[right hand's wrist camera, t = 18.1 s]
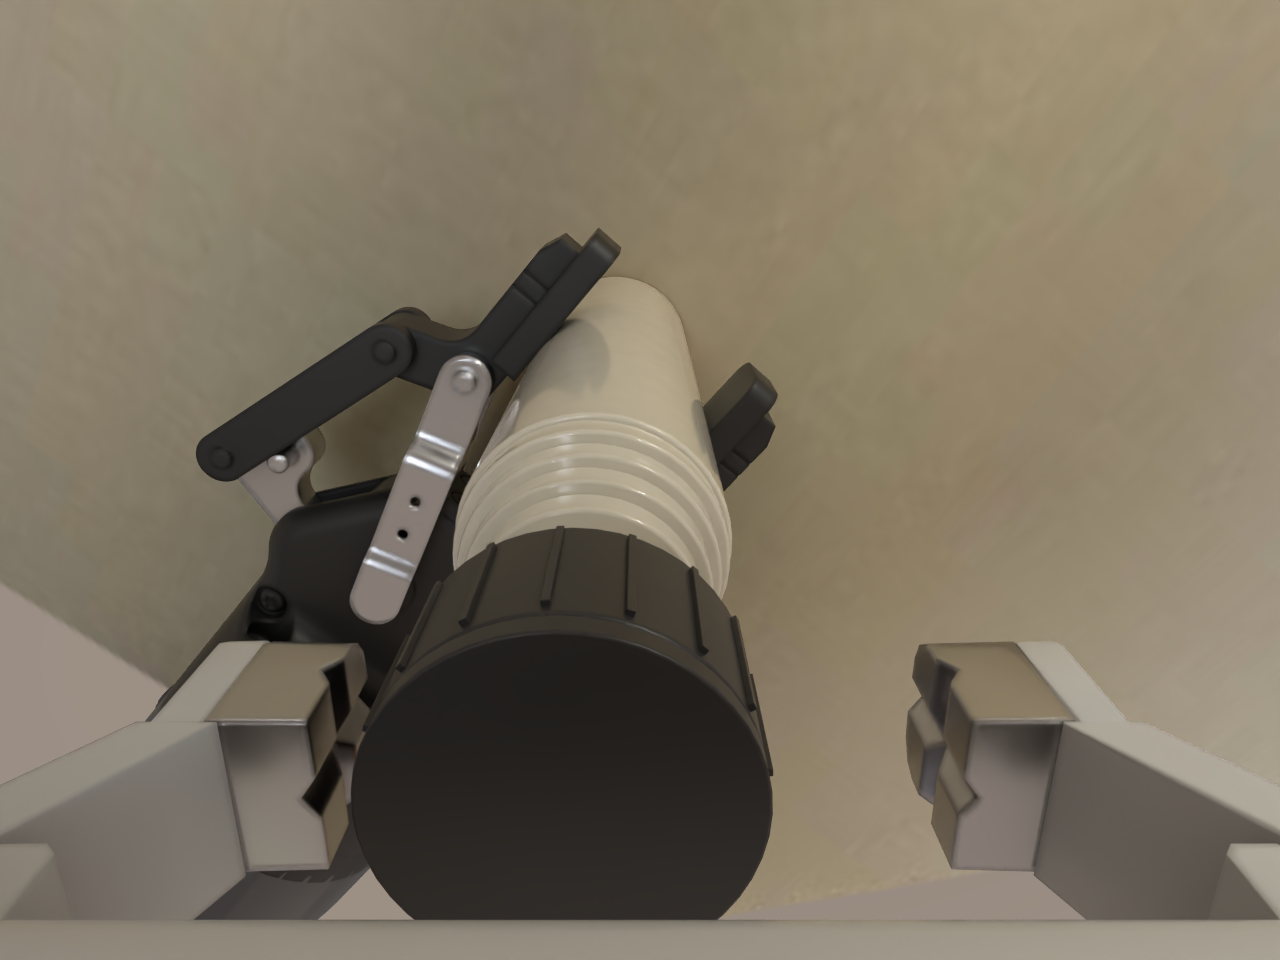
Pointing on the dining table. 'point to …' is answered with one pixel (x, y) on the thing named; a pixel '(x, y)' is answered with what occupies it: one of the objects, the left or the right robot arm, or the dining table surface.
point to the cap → (566, 741)
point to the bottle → (605, 439)
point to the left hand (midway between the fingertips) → (684, 313)
